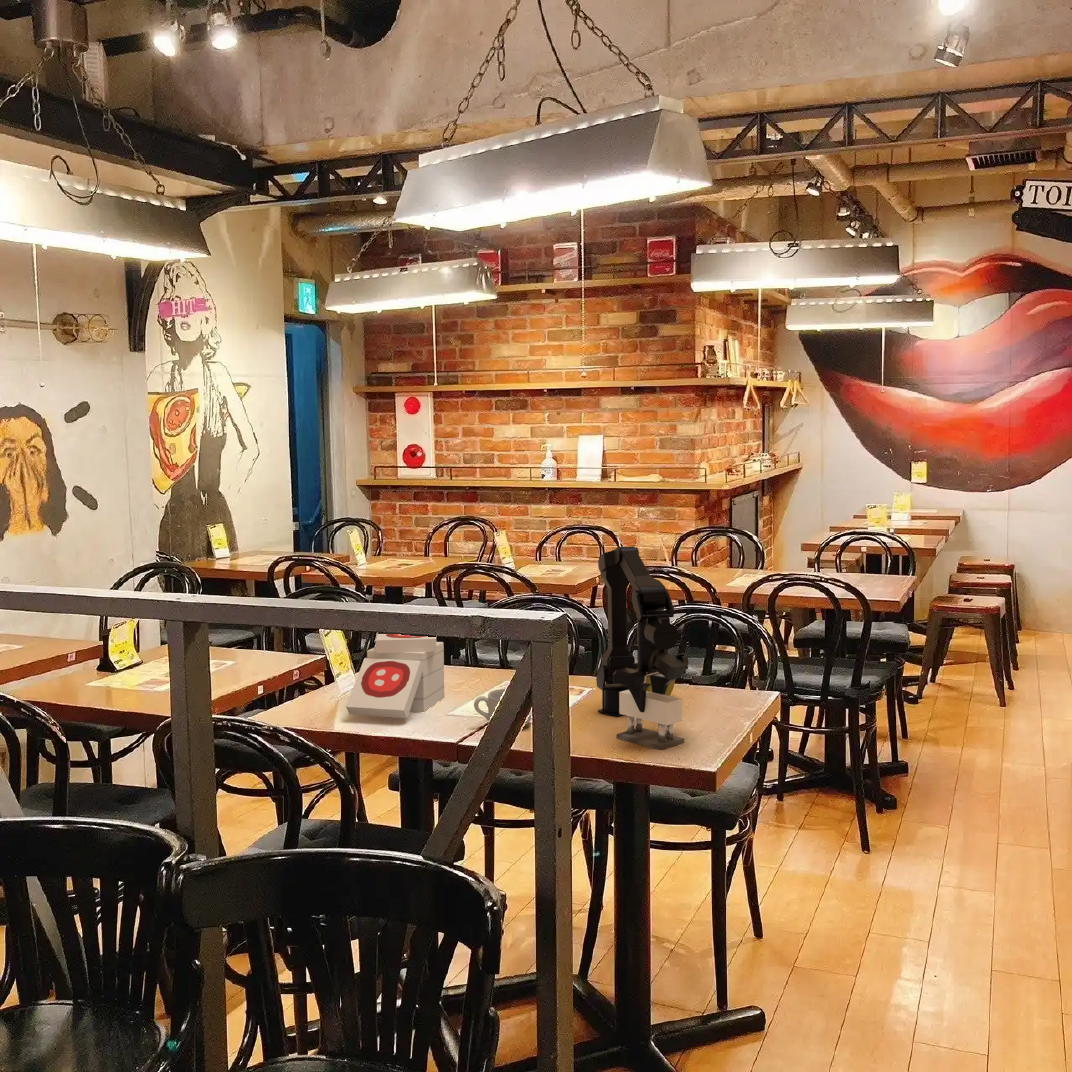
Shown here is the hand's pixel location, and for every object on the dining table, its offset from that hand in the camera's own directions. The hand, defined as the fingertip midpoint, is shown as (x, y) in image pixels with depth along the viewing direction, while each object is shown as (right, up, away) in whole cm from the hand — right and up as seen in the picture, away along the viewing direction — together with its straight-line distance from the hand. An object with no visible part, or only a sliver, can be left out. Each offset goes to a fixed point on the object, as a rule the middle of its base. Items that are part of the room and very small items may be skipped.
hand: (650, 709), depth 252 cm
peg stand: (0, -7, +1) cm, 7 cm away
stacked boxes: (-60, -5, +31) cm, 67 cm away
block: (0, -2, 0) cm, 2 cm away
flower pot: (+5, -3, +39) cm, 39 cm away
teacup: (-33, -6, +13) cm, 36 cm away
